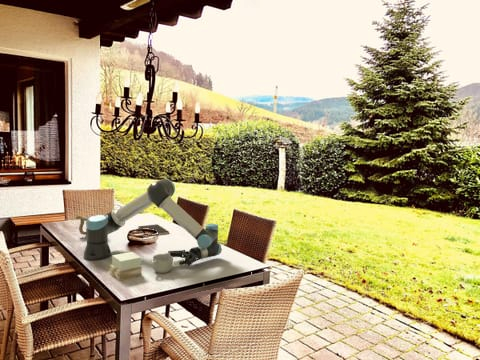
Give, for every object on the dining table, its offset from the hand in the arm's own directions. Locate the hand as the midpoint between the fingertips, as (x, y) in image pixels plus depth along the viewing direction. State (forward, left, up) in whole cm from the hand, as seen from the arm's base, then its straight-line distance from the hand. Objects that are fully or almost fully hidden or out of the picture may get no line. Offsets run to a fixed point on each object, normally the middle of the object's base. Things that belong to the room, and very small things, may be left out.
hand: (166, 260), depth 209 cm
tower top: (-9, -19, -1) cm, 21 cm away
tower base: (-9, -19, -6) cm, 22 cm away
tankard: (-85, -7, -6) cm, 85 cm away
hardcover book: (-75, +36, -7) cm, 83 cm away
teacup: (-1, -3, -6) cm, 7 cm away
